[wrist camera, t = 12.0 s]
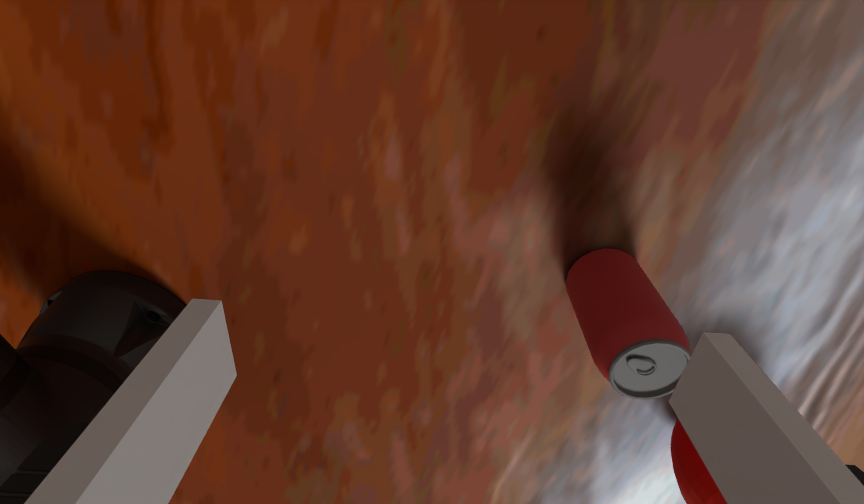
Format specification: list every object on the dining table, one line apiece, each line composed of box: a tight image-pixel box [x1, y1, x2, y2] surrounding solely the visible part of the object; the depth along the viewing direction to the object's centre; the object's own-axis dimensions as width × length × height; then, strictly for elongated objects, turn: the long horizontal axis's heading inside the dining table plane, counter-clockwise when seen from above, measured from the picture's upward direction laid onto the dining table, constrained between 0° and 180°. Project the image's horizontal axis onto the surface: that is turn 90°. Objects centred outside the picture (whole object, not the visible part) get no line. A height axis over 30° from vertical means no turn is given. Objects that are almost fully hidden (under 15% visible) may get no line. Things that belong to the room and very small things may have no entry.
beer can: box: [566, 248, 691, 400], centre depth 35 cm, size 7×7×12 cm
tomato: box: [671, 419, 727, 504], centre depth 43 cm, size 13×11×14 cm
